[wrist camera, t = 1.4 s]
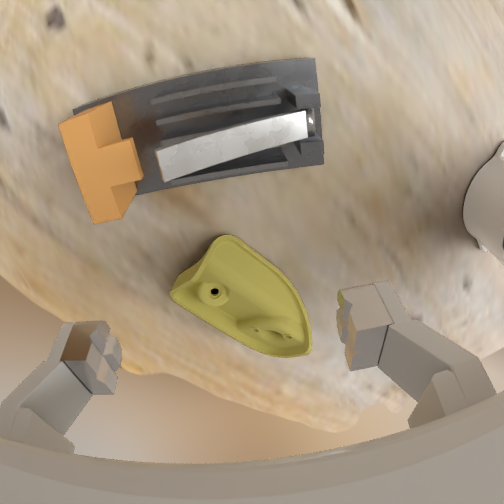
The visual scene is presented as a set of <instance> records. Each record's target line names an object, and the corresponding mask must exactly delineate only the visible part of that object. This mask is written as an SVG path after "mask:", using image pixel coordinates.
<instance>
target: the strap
mask: <svg viewBox="0 0 504 504" xmlns="http://www.w3.org/2000/svg"><path fill="white" fill-rule="evenodd" d="M315 136H316V129H315V117H314V109H313V108H304V109H300V110H295V111H291V112H286V113H281V114H277V115H272V116H268V117H264V118H260V119H255V120H251V121H247V122H243V123H240V124H236V125H232V126H228V127H225V128H221V129H217V130H214V131H210V132H207V133H204V134H200V135H197V136H194V137H190V138H187V139H184V140H181V141H178V142H175V143H171V144H168V145H165V146H162V147H159V148H157V149H154V151H155V155H156V159H157V162H158V166H159V170H160V173H161V177H162V180H163V181H164V182H167V181H170V180H172V179H175V178H178V177H181V176H184V175H186V174H189V173H192V172H195V171H198V170H201V169H204V168H207V167H210V166H213V165H216V164H219V163H222V162H225V161H228V160H231V159H235V158H238V157H241V156H244V155H247V154H251V153H254V152H257V151H261V150H264V149H268V148H271V147H275V146H278V145H282V144H285V143H289V142H293V141H296V140H300V139H304V138H308V137H315Z"/></svg>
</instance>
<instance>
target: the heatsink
mask: <svg viewBox="0 0 504 504" xmlns="http://www.w3.org/2000/svg"><path fill="white" fill-rule="evenodd" d="M110 101H112V105H113V109H114V112H115V116H116V120H117V124H118V127H119V131H120V135H121V138H122V140H124V139H128V138H131V137H133V140H134V144H135V148H136V151H137V155H138V158H139V162H140V165H141V169H142V172H143V175H144V176H143V178H142V180H138V181H134V182H135V185H136V188H137V192H136V194H135V195H139V194H144V193H149V192H153V191H158V190H163V189H168V188H173V187H178V186H183V185H189V184H194V183H200V182H205V181H211V180H217V179H223V178H229V177H235V176H241V175H247V174H254V173H261V172H268V171H275V170H282V169H290V168H297V167H305V166H314V165H322V164H324V159H323V154H324V144H323V140H322V128H321V115H320V107H321V104H320V93H319V92H318V82H317V73H316V64H315V58H295V59H283V60H273V61H264V62H256V63H249V64H242V65H235V66H229V67H223V68H217V69H211V70H206V71H201V72H196V73H191V74H187V75H182V76H178V77H173V78H169V79H165V80H161V81H157V82H153V83H150V84H146V85H142V86H139V87H135V88H132V89H128V90H125V91H122V92H119V93H115V94H112V95H109V96H106V97H103V98H100V99H97V100H94V101H92V102H89V103H86V104H84V105H81V106H79V107H77V108H75V109H73V113H74V116H75V115H77V114H79V113H80V112H82V111H84V110H87V109H89V108H92V107H95V106H98V105H101V104H104V103H107V102H110ZM304 108H313V109H314V117H315V129H316V136H315V137H308V138H304V139H300V140H296V141H293V142H289V143H285V144H282V145H278V146H275V147H271V148H268V149H264V150H261V151H257V152H254V153H251V154H247V155H244V156H241V157H238V158H235V159H231V160H228V161H225V162H222V163H219V164H216V165H213V166H210V167H207V168H204V169H201V170H198V171H195V172H192V173H189V174H186V175H184V176H181V177H178V178H175V179H172V180H170V181H167V182H164V181H163V180H162V177H161V173H160V170H159V166H158V162H157V159H156V155H155V151H154V149H157V148H159V147H162V146H165V145H168V144H171V143H175V142H178V141H181V140H184V139H187V138H190V137H194V136H197V135H200V134H204V133H207V132H210V131H214V130H217V129H221V128H225V127H228V126H232V125H236V124H240V123H243V122H247V121H251V120H255V119H260V118H264V117H268V116H272V115H277V114H281V113H286V112H291V111H295V110H300V109H304Z"/></svg>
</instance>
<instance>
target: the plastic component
mask: <svg viewBox="0 0 504 504" xmlns="http://www.w3.org/2000/svg"><path fill="white" fill-rule="evenodd" d="M213 288H217V289H218V290H219V291H218V293H217V294H212V293H211V290H212V289H213ZM169 294H170V297H171V299H172V300H173V301H174V302H175V303H177V304H178V305H180V306H181V307H183V308H184V309H186V310H188V311H189V312H191V313H192V314H194V315H196V316H197V317H199V318H200V319H202V320H204V321H205V322H207V323H208V324H210V325H212V326H213V327H215V328H217V329H218V330H220V331H222V332H223V333H225V334H227V335H228V336H230V337H232V338H233V339H235V340H237V341H238V342H240V343H242V344H244V345H246V346H247V347H249V348H251V349H253V350H256V351H258V352H260V353H263V354H266V355H270V356H274V357H281V358H290V357H298V356H304V355H308V354H309V353H310V352H311V350H312V333H311V327H310V322H309V318H308V315H307V312H306V309H305V306H304V304H303V302H302V300H301V298H300V296H299V294H298V292H297V290H296V289H295V287H294V286H293V285H292V283H291V282H290V281H289V280H288V278H287V277H286V276H285V275H284V274H283V273H282V272H281V271H280V270H279V269H278V268H276V267H275V266H274V265H272V264H271V263H270V262H268V261H267V260H266V259H265V258H263V257H262V256H261V255H259V254H258V253H257V252H255V251H254V250H253V249H252V248H250V247H249V246H248V245H246V244H245V243H244V242H242V241H241V240H240V239H238V238H237V237H235V236H233V235H222V236H220V237H218V238H217V239H215V240H214V241H213V242H212V243H211V244H210V246H209V248H208V250H207V252H206V253H205V255H204V256H203V257H202V258H201V260H200V261H199V262H198V263H196V264H195V265H193V266H192V267H190V268H188V269H187V270H185V271H184V272H182V273H181V274H179V275H178V277H177V279H176V281H175V283H174V285H173V287H172V289H171V291H170V293H169Z"/></svg>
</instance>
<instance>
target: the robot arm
mask: <svg viewBox="0 0 504 504" xmlns="http://www.w3.org/2000/svg"><path fill="white" fill-rule="evenodd" d="M463 219H464V224H465V227H466V229H467V231H468V232H469V233H470V234H471V235H472V236H473V237H475V238H476V239H477V242H478V245H479V247H480V249H481V250H483V251H484V252H488V251H489V252H490V253H492V254H493V255H494V256H495V257H496V258H497V259H498V260H499V261H500V262H501V263H502V264H503V265H504V142H503V143H502V144H501V145H500V147H499V148H498V150H497V152H496V154H495V155H494V157H493V158H492V159H491V160H489V161H488V162H487V163H486V164H485V165H484V166H483V167H482V168H481V169H480V170H479V171H478V173H477V174H476V176H475V177H474V179H473V180H472V182H471V184H470V186H469V189H468V191H467V194H466V197H465V202H464V208H463ZM337 300H338V303H339V306H340V308H339V309H338V310H337V328H338V333H339V336H340V340H341V342H343V343H344V344H346V345H345V356H346V359H347V362H348V366H349V369H350V371H354V370H359V369H364V368H369V367H374V366H378V368H379V369H380V370H382V371H383V372H384V373H385V374H386V375H387V376H388V377H390V378H391V379H392V380H393V381H394V382H395V383H396V384H398V385H399V386H400V387H401V388H402V389H403V390H404V391H405V392H407V393H408V394H409V395H410V396H411V397H412V398H413V399H415V400H416V401H417V402H418V404H417V405H416V407H415V409H414V411H413V412H412V414H411V415H410V417H409V419H408V423H409V427H410V429H408V430H405V431H401V432H398V433H395V434H391V435H388V436H384V437H381V438H377V439H373V440H369V441H365V442H361V443H357V444H353V445H349V446H344V447H339V448H335V449H329V450H324V451H319V452H313V453H307V454H301V455H295V456H288V457H280V458H272V459H264V460H252V461H241V462H224V463H153V462H135V461H123V460H114V459H105V458H97V457H90V456H83V455H77V454H73V452H74V445H73V443H72V442H70V441H69V440H68V439H67V438H65V437H64V434H65V433H66V432H67V430H68V429H69V427H70V426H71V425H72V423H73V422H74V421H75V419H76V418H77V416H78V415H79V414H80V412H81V411H82V410H83V408H84V407H85V406H86V404H87V403H88V401H89V400H90V399H91V397H92V395H108V394H109V395H110V394H112V395H113V394H114V393H115V388H116V384H117V379H118V376H117V374H116V373H115V371H116V370H117V369H118V368H119V367H120V366H121V361H122V349H121V346H120V343H119V341H118V340H117V338H116V337H114V336H113V335H111V334H109V332H110V327H109V326H108V324H107V323H106V321H83V322H65V323H64V324H63V325H62V326H61V328H60V330H59V333H58V335H57V337H56V340H55V342H54V345H53V347H52V349H51V352H50V355H49V357H48V360H47V361H43V362H42V363H41V364H40V365H39V366H38V367H37V368H36V369H35V370H34V371H33V372H32V373H31V374H30V375H29V376H28V377H27V378H26V379H25V380H24V381H23V382H22V383H21V384H20V385H19V386H18V387H17V388H16V389H15V390H14V391H13V392H12V393H11V394H10V395H9V396H8V397H7V398H6V399H5V400H4V401H3V402H2V403H1V406H0V504H504V391H502V392H500V393H498V394H497V393H496V391H495V389H494V387H493V385H492V383H491V381H490V379H489V377H488V375H487V373H486V371H485V369H484V368H483V365H482V363H481V362H480V360H479V358H478V357H477V356H475V355H474V354H472V353H471V352H469V351H467V350H466V349H464V348H462V347H461V346H459V345H458V344H456V343H454V342H453V341H451V340H450V339H448V338H446V337H445V336H443V335H441V334H440V333H438V332H436V331H435V330H433V329H432V328H430V327H428V326H427V325H425V324H423V323H422V322H420V321H418V320H417V319H413V320H411V318H410V317H409V315H408V313H407V311H406V309H405V307H404V305H403V303H402V302H401V300H400V298H399V296H398V294H397V293H396V291H395V289H394V287H393V285H392V284H391V282H390V281H388V280H387V281H382V282H377V283H372V284H367V285H362V286H357V287H352V288H346V289H341V290H339V291H338V299H337Z"/></svg>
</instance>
